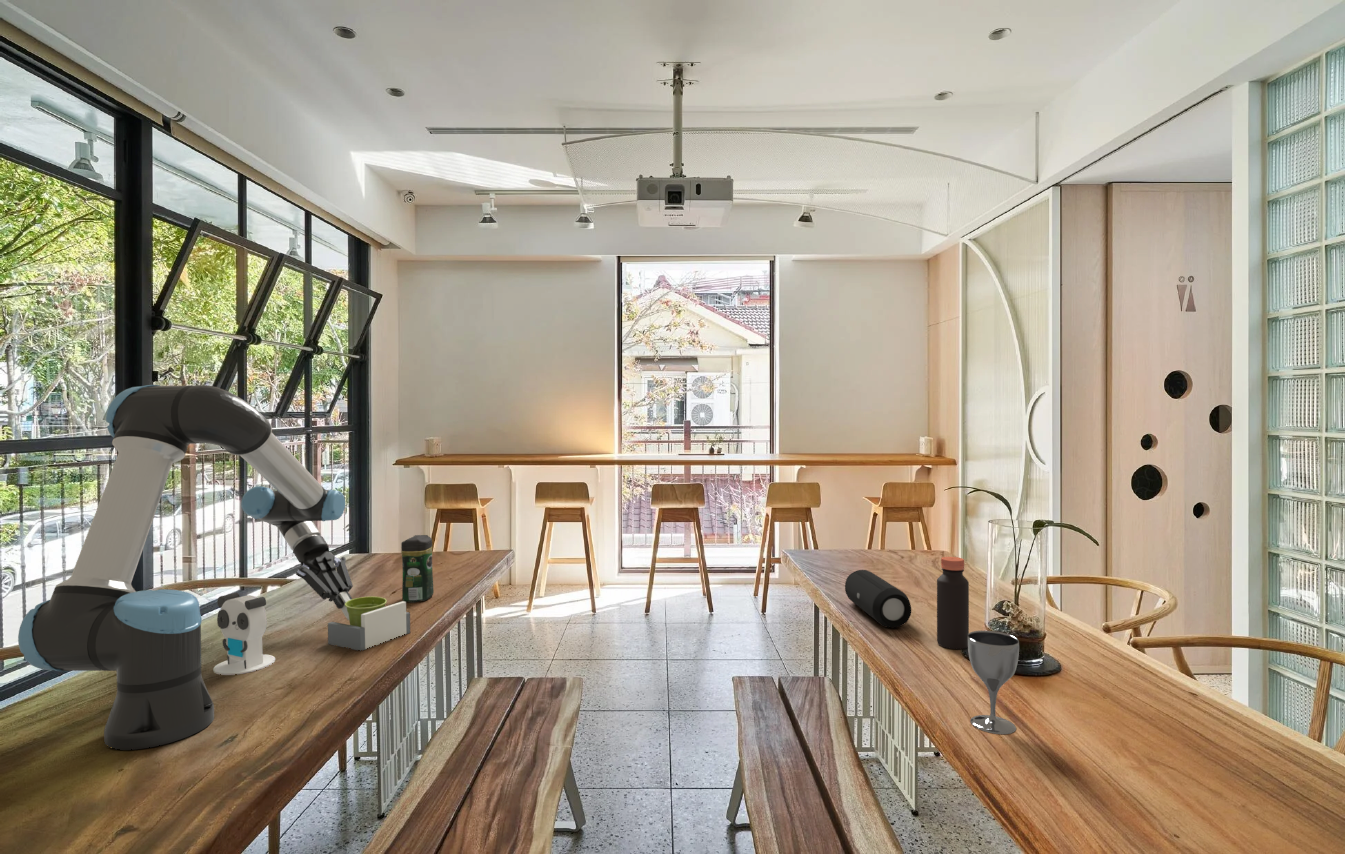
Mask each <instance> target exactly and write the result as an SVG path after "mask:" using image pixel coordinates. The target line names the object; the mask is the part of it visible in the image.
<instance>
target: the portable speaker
mask: <svg viewBox="0 0 1345 854" xmlns="http://www.w3.org/2000/svg"><path fill="white" fill-rule="evenodd" d="M844 584H845V585H844V590H845V594H846V596H847V598H848V600H850V601H851V602H852V603H853V604H855V605H856V606H857V607H858V608H860V609H861V610H862V611H864V612H865V614H867V615H869V617H871V618H872V619H874V620H875V621H876V622H877V623H878V624H880V625H881V626H883V627H884V628H888V627H893V628H898V627H899V628H900V627H901V626H903V625H906V623H907V622H908V621H909V620H910V618H911V615H912V606H911V605H912V604H911V601H910V599H909V597H908V596H907V594H906V593H904V591H902V590H901V589H899V588H897V587H896V586H894V585H893V584H891V583H890V582H888V581H886V580H884V579H883V578H881V577H880V576H878V575H876V574H875V573H873V572H871V571H870V570H867V569H857V570H855V571H853V572H851V573H850V574H848V576H847V578H846V580H845V583H844Z"/></svg>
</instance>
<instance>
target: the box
mask: <svg viewBox="0 0 1345 854" xmlns="http://www.w3.org/2000/svg"><path fill="white" fill-rule="evenodd" d="M404 634H405V635H408V634H411V612H408V611H407V601H403V600H402V601H399V602H396V603H393V604H389V605H387V606H386V605H385V607H383V608H380V609H377V610H373V611H370V612H367V613H364V614H361V627H358V626H352V625H350V624H346V623H341V622H336V621H331V622H330V621H329V622H328V623H327V644H328V645H331V646H335V645H337V646H336V647H340V648H344V647H346V649H349V648H351V649H350V650H353V651H354V650H355V651H358V650H360V651H359V652H362V651H364V650H367V648H368V649H370V648H372V646H373V647H375V646H374V645H376V646H378V645H381V644H383V642H384V643H386V642H389V641H391V640H390V639H392V640H394V638H395V639H397V638H399V637H398V636H400V637H402V635H403V636H405V635H404ZM396 637H397V638H396ZM385 641H386V642H385ZM380 643H381V644H380ZM347 647H348V648H347ZM369 647H370V648H369ZM361 650H362V651H361Z"/></svg>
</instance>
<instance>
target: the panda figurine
mask: <svg viewBox="0 0 1345 854" xmlns="http://www.w3.org/2000/svg"><path fill="white" fill-rule="evenodd" d="M266 600H267V599H266V597H264V596H260V597H257V596H254V595H243V596H240V594H239V593H238V592H234V593H233V592H232V593H230V594H229V593H228V594H225V595H220V596H219V597H218V598H217V602H216V603H217V606H218V607H219V608H220V610H218V612H217V619H216V620H217V621H216V622H217V626H218V628H219V629H220V632H221V633H222V635H223V637H224V638H223V639H222V647H223V649H224V650H225V651H226V658H227V660H224V661H222V662H219V663H218V664H215V666H214V667H213V673H214V674H217V675H220V674H221V675H222V676H235V674H237V675H242V674H249V673H253V672H257V671H260V670H262V669H265V667H266V668H268V667H270V666H271V665H273V664H274V663H275V661H276V657H275V656H273V655H271V654H268V653H267V654H264V653H263V635H264V634H265V633H266V630H267V626H268V617H267V611H266V607H265V606H267V601H266ZM272 663H273V664H272ZM269 665H270V666H269ZM256 670H257V671H256Z"/></svg>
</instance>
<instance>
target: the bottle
mask: <svg viewBox="0 0 1345 854" xmlns="http://www.w3.org/2000/svg"><path fill="white" fill-rule="evenodd" d="M940 567H941V570H942V574H940V576H938V578H936V643H937V644H938V645H939V646H940V647H942V648H945V649H949V650H965V649H968V634H969V633H970V629H969V628H970V626H969V625H970V624H969V623H970V615H969V614H970V613H969V611H970V610H969V609H970V605H969V604H970V585H969V584H970V583H969V581H968V579H967V578H966V577H965V576H964V575H963V574H964V572H965V559H964V558H961V557H957V556H943V557H941V560H940Z"/></svg>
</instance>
